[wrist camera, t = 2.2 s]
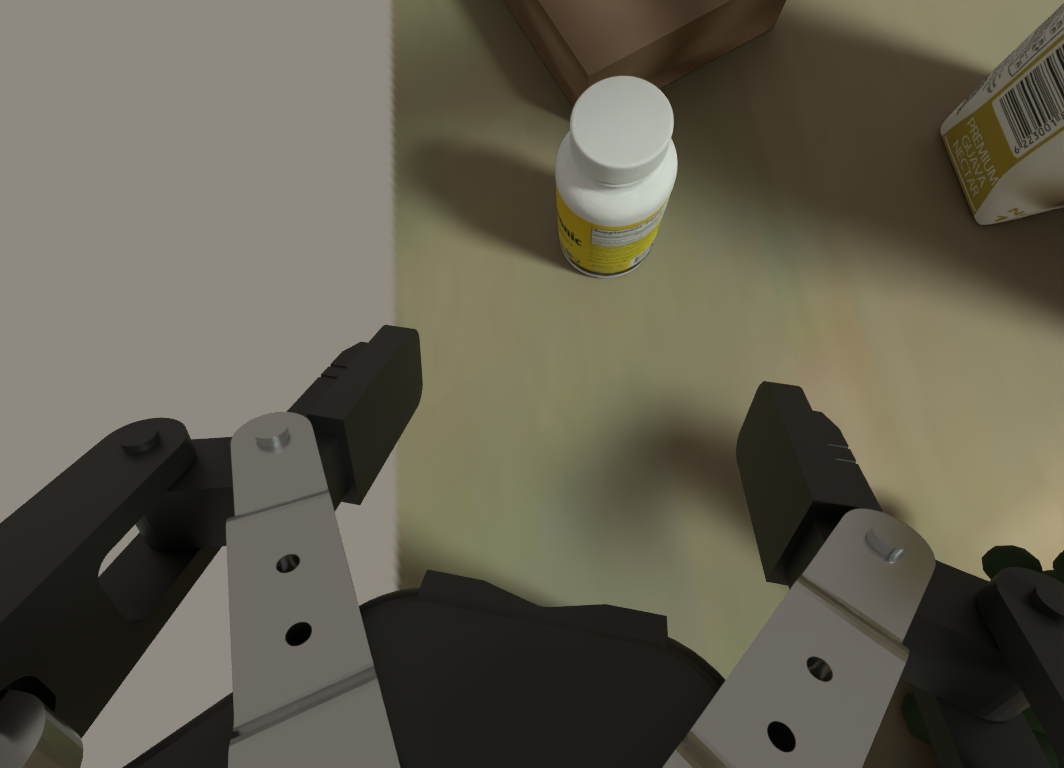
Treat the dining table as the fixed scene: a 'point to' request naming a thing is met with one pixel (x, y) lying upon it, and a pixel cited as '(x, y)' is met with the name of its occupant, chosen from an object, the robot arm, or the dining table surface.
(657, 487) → the dining table surface
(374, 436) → the robot arm
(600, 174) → the supplement bottle
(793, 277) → the dining table surface
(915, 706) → the toy figurine
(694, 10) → the walnut plinth
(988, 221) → the juice carton
